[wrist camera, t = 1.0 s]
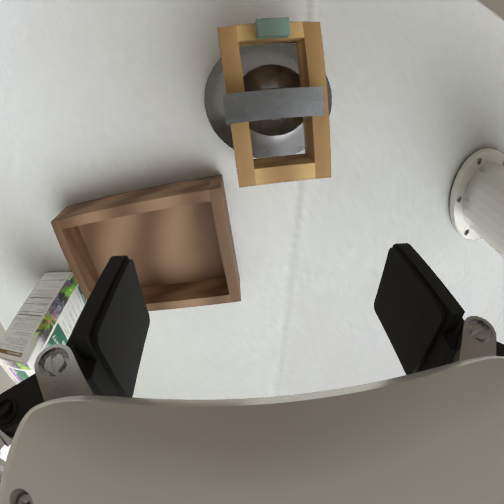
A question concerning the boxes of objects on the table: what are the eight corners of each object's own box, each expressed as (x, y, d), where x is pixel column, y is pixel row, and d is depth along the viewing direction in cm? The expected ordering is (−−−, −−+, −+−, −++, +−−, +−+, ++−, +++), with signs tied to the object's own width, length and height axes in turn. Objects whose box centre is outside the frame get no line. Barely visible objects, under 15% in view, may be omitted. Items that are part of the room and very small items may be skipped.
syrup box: (93, 306, 34) (56, 400, 22) (59, 305, 34) (17, 390, 21) (79, 269, 31) (27, 364, 19) (43, 271, 31) (-11, 356, 18)
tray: (221, 175, 27) (221, 188, 24) (239, 279, 33) (240, 301, 30) (66, 206, 27) (50, 222, 24) (103, 295, 33) (94, 315, 30)
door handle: (324, 38, 20) (355, 26, 14) (333, 152, 26) (362, 175, 20) (197, 48, 20) (185, 35, 14) (214, 165, 26) (210, 192, 20)
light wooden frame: (309, 29, 18) (326, 17, 14) (320, 166, 24) (337, 183, 20) (218, 34, 18) (216, 23, 14) (238, 175, 24) (240, 194, 20)
